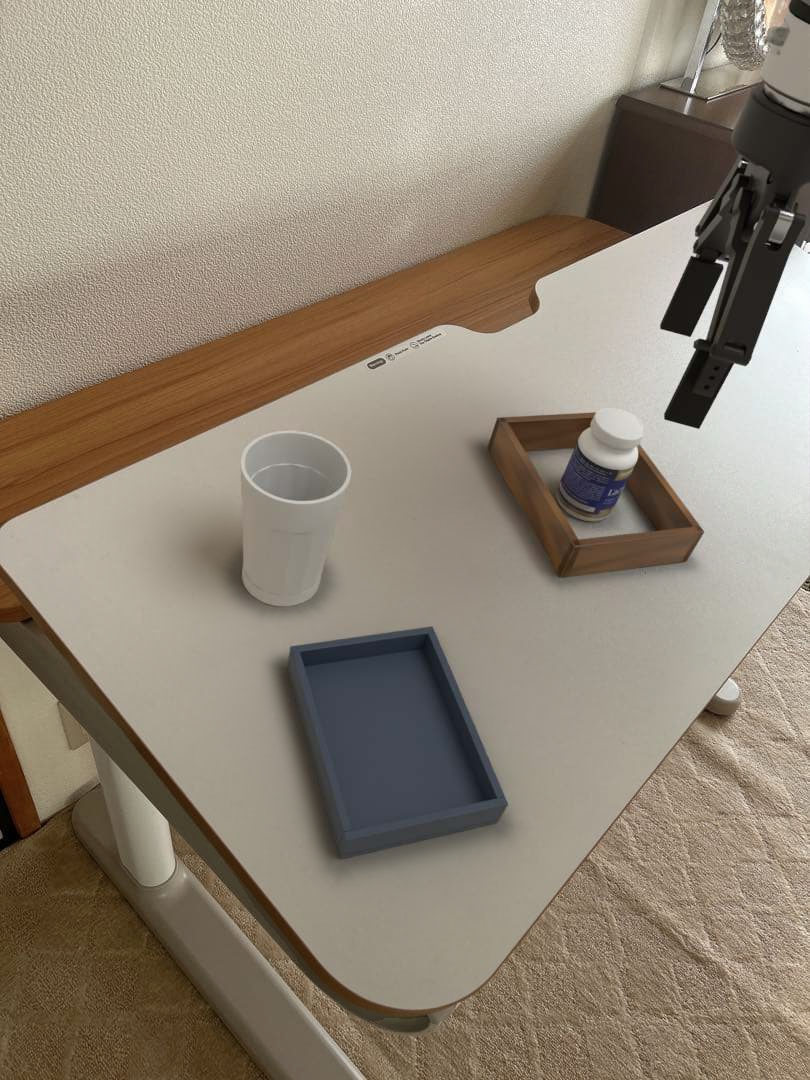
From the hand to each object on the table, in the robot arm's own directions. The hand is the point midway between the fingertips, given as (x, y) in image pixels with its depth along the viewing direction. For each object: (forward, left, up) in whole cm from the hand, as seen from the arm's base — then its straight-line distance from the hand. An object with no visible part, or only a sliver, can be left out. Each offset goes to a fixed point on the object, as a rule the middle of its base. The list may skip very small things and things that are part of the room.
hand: (677, 373), depth 71 cm
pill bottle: (+3, 0, -18) cm, 18 cm away
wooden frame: (+3, 0, -18) cm, 18 cm away
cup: (-2, +31, -18) cm, 36 cm away
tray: (-18, +27, -18) cm, 37 cm away
